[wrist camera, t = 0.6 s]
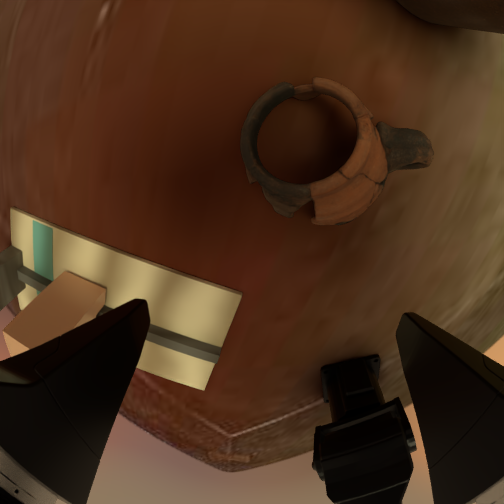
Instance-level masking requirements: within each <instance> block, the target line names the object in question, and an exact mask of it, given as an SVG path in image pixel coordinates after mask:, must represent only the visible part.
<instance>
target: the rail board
mask: <svg viewBox="0 0 504 504" xmlns="http://www.w3.org/2000/svg"><path fill="white" fill-rule="evenodd" d="M11 240H12V245H11V246H10V247H8V248H7V249H5V250H4V251H2V252H1V253H0V311H1V310H2V309H3V308H4V307H5V306H6V305H7V304H8V303H9V302H10V301H11V300H12V299H14V298H15V297H16V296H17V295H18V299H19V305H20V309H21V310H23V309H24V308H25V307H26V306H27V305H28V304H29V303H30V302H31V301H32V300H33V299H34V298H35V297H36V296H38V295H39V294H40V293H41V292H42V291H43V290H44V289H45V288H46V287H47V286H48V285H49V284H51V283H52V282H53V281H54V280H55V279H56V278H57V277H58V276H59V275H61V274H62V273H63V272H64V271H66V272H68V273H71V274H73V275H75V276H77V277H79V278H82V279H84V280H86V281H88V282H91V283H93V284H95V285H98V286H100V287H102V288H105V289H106V295H105V304H104V306H103V307H102V308H101V310H100V311H99V312H98V313H97V315H96V317H98V316H100V315H102V314H104V313H106V312H108V311H110V310H112V309H114V308H116V307H118V306H120V305H122V304H124V303H126V302H129V301H131V300H133V299H135V298H139V299H145V300H146V301H147V303H148V308H149V314H150V319H151V322H150V327H149V330H148V334H147V337H146V340H145V343H144V347H143V350H142V353H141V357H140V360H139V362H138V365H137V368H139V369H142V370H144V371H147V372H150V373H152V374H155V375H158V376H161V377H164V378H166V379H169V380H172V381H175V382H178V383H181V384H185V385H188V386H191V387H194V388H197V389H201V390H204V389H205V387H206V384H207V382H208V379H209V377H210V374H211V372H212V369H213V367H214V364H217V361H218V359H219V357H220V352H221V347H222V345H223V342H224V340H225V337H226V335H227V332H228V330H229V327H230V325H231V322H232V320H233V317H234V315H235V312H236V310H237V307H238V305H239V302H240V299H241V297H242V292H239V291H236V290H233V289H230V288H227V287H224V286H221V285H218V284H215V283H212V282H209V281H206V280H203V279H200V278H197V277H194V276H191V275H188V274H185V273H182V272H179V271H176V270H174V269H171V268H168V267H165V266H162V265H159V264H157V263H154V262H151V261H148V260H146V259H143V258H140V257H137V256H135V255H132V254H129V253H127V252H124V251H121V250H119V249H116V248H113V247H111V246H108V245H105V244H103V243H100V242H98V241H95V240H92V239H90V238H87V237H85V236H82V235H80V234H77V233H75V232H72V231H70V230H67V229H65V228H62V227H60V226H58V225H55V224H53V223H50V222H48V221H46V220H43V219H41V218H38V217H36V216H34V215H31V214H29V213H27V212H25V211H22V210H20V209H18V208H15V207H12V208H11Z"/></svg>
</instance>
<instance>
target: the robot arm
mask: <svg viewBox="0 0 504 504" xmlns="http://www.w3.org/2000/svg"><path fill="white" fill-rule="evenodd" d="M150 322H151V319H150V314H149V308H148V303H147V301H146V300H145V299H139V298H135V299H133V300H131V301H129V302H126V303H124V304H122V305H120V306H118V307H116V308H114V309H112V310H110V311H108V312H106V313H104V314H102V315H100V316H98V317H96V318H94V319H92V320H90V321H88V322H86V323H84V324H82V325H80V326H78V327H76V328H74V329H72V330H70V331H68V332H66V333H64V334H62V335H61V336H58V337H56V338H54V339H52V340H50V341H47V342H45V343H43V344H41V345H39V346H37V347H34V348H32V349H30V350H27V351H25V352H22V353H20V354H17V355H15V356H12V357H10V358H8V359H5V360H3V361H0V504H55V503H56V500H57V498H58V499H60V500H62V501H64V502H66V503H67V504H86V503H87V500H88V497H89V493H90V490H91V487H92V484H93V481H94V478H95V475H96V472H97V469H98V466H99V463H100V459H101V456H102V454H103V451H104V448H105V445H106V443H107V440H108V437H109V434H110V432H111V429H112V426H113V424H114V421H115V419H116V416H117V414H118V411H119V408H120V406H121V403H122V401H123V398H124V396H125V393H126V391H127V389H128V386H129V384H130V381H131V379H132V377H133V374H134V372H135V369H136V367H137V365H138V362H139V360H140V357H141V353H142V350H143V347H144V343H145V340H146V337H147V334H148V330H149V327H150ZM396 339H397V344H398V348H399V353H400V357H401V362H402V367H403V371H404V374H405V378H406V381H407V384H408V388H409V391H410V394H411V398H412V401H413V405H414V409H415V412H416V416H417V420H418V424H419V427H420V432H421V436H422V440H423V445H424V449H425V454H426V459H427V463H428V469H429V475H430V480H431V486H432V493H433V499H434V504H472V503H474V502H476V504H504V366H502V365H500V364H499V363H497V362H495V361H494V360H492V359H490V358H489V357H487V356H486V355H484V354H482V353H481V352H479V351H477V350H476V349H474V348H473V347H471V346H469V345H468V344H466V343H464V342H463V341H461V340H459V339H458V338H456V337H454V336H453V335H451V334H450V333H448V332H446V331H445V330H443V329H441V328H439V327H438V326H436V325H434V324H433V323H431V322H429V321H428V320H426V319H424V318H423V317H421V316H419V315H417V314H416V313H414V312H406V313H404V314H403V315H402V317H401V320H400V322H399V325H398V328H397V331H396ZM375 359H376V360H375ZM379 368H380V357H379V355H374V356H370V357H366V358H362V359H357V360H353V361H348V362H344V363H339V364H334V365H329V366H325V367H323V368H322V369H321V376H322V387H323V398H324V402H325V403H329V405H330V411H331V417H332V423H329V424H326V425H323V426H321V425H320V426H316V428H315V433H314V453H313V462H312V468H313V469H314V470H316V471H317V473H318V475H319V477H320V479H321V480H322V481H325V484H326V491H327V496H328V497H329V499H330V500H331V501H332V502H333V503H334V504H402V499H403V497H404V494H405V491H406V489H407V486H408V483H409V480H410V477H411V474H412V471H413V468H414V467H413V462H412V458H411V454H410V453H412V452H414V451H416V450H417V448H416V443H415V439H414V435H413V432H412V429H411V425H410V423H409V420H408V418H407V415H406V413H405V411H404V408H403V406H402V404H401V401H400V399H399V397H397V398H394V400H392V401H389V402H387V403H385V400H384V397H383V394H382V391H381V389H380V386H379V383H378V377H379ZM326 370H327V371H326Z"/></svg>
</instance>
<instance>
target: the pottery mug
mask: <svg viewBox="0 0 504 504" xmlns="http://www.w3.org/2000/svg"><path fill="white" fill-rule="evenodd" d="M320 94H325V95H329V96H331V97H334V98H336V99H338V100H339V101H341V102H342V103H343V104H344V105H345V106H347V108H348V109H349V110H350V111H351V113H352V115H353V117H354V119H355V121H356V125H357V141H356V145H355V148H354V150H353V152H352V154H351V156H350V157H349V159H348V161H347V162H346V163H345V164H344V165H343V166H342V167H341V168H340V169H339V170H338V171H336V172H335V173H333V174H332V175H330V176H328V177H327V178H324V179H322V180H319V181H315V182H311V183H309V184H294V183H288V182H285V181H282V180H280V179H278V178H276V177H274V176H273V175H272V174H270V173H269V172H268V171H267V170H266V169H265V168H264V167H263V165H262V163H261V161H260V159H259V156H258V152H257V137H258V133H259V130H260V127H261V125H262V123H263V121H264V120H265V118H266V116H267V115H268V114H269V113H270V112H271V110H272V109H273V108H274V107H276V106H277V105H278V104H279V103H281V102H283V101H284V100H286V99H288V98H290V97H294V98H296V99H299V100H308V99H311V98H314V97H317V96H319V95H320ZM373 117H374V116H373V115H372V113H371V112H370V111H369V110H368V109H367V108H366V107H365V106H364V104H363V103H362V102H361V101H360V99H359V98H358V97H357V96H356V95H355V94H354V93H353V92H352V91H351V90H350V89H349V88H347V87H345V86H344V85H342V84H340V83H338V82H336V81H334V80H330V79H325V78H320V77H314V78H313V80H312V84H308V85H306V84H305V85H301V86H297V87H294V86H293V85H292V84H290V83H287V82H282V83H279V84H277V85H276V86H274V87H272V88H271V89H269V90H268V91H267V92H266V93H265V94H263V95H262V96H261V97H260V98H259V99H258V100H257V101H256V102H255V103H254V104H253V106H252V108H251V109H250V111H249V113H248V115H247V119H246V120H245V122H244V125H243V127H242V129H241V140H240V150H241V155H242V159H243V161H244V163H245V168H246V174H247V177H248V180H249V183H250V184H251V183H254V182H257V181H258V183H259V184H260V185H261V186H262V191H263V193H264V195H265V198H266V199H267V201H268V202H269V203H271V204H272V205H273V208H274V210H275V212H277V213H279V214H281V215H283V216H285V217H288V218H291V217H293V215H294V212H295V211H297V210H298V209H299V208H300V207H301V206H303V205H304V204H306V203H307V202H309V201H311V200H313V203H314V209H315V217H312V218H311V222H312V223H313V224H318V225H342V224H345V223H348V222H350V221H352V220H354V219H355V218H357V217H358V216H360V215H361V214H362V213H364V212H365V211H366V210H367V208H368V207H370V206H371V205H372V203H373V202H374V201H375V200H376V199H377V197H378V196H379V195H380V193H381V191H382V190H383V188H384V184H385V181H386V179H387V175H388V173H390V172H392V171H395V170H403V169H419V168H425V167H428V166H429V165H430V164H431V161H432V159H433V155H434V151H433V149H432V145H431V141H430V140H429V139H428V138H427V136H426V135H425V134H424V133H422V132H421V131H418V130H413V129H408V128H393V127H390V126H388V125H387V124H385V123H384V122H378V123H377V125H376V127H375V126H373V124H372V123H371V119H372V118H373Z"/></svg>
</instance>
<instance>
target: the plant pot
mask: <svg viewBox="0 0 504 504" xmlns="http://www.w3.org/2000/svg"><path fill="white" fill-rule="evenodd" d="M397 1H398V2H399V3H400V4H401V5H402V6H403V7H404V8H405V9H406V10H408V11H409V12H410V13H412V14H413V15H415V16H417V17H418V18H420V19H422V20H424V21H427V22H430V23H434V24H440V25H446V26H452V27H459V28H466V29H473V30H480V31H487V32H494V33H501V34H504V0H397Z"/></svg>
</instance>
